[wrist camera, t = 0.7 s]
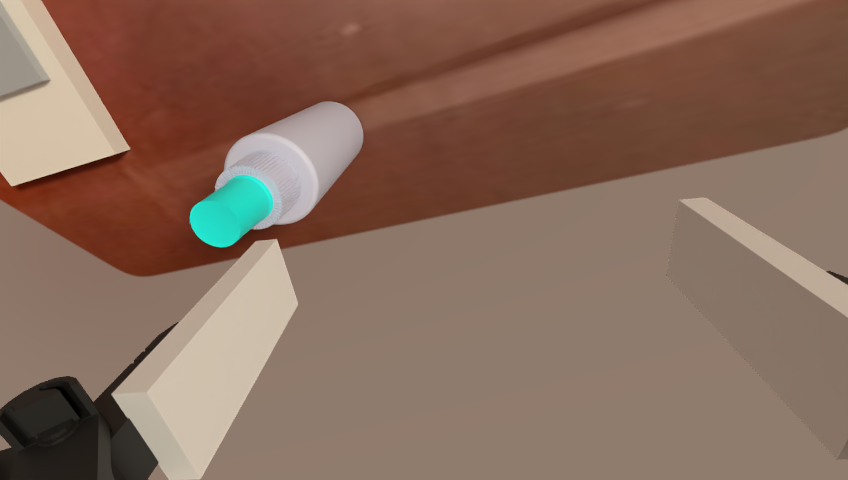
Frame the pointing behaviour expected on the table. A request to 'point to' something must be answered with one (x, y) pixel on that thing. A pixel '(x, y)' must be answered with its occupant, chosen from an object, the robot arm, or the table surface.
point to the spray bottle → (278, 173)
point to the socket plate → (52, 107)
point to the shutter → (16, 59)
